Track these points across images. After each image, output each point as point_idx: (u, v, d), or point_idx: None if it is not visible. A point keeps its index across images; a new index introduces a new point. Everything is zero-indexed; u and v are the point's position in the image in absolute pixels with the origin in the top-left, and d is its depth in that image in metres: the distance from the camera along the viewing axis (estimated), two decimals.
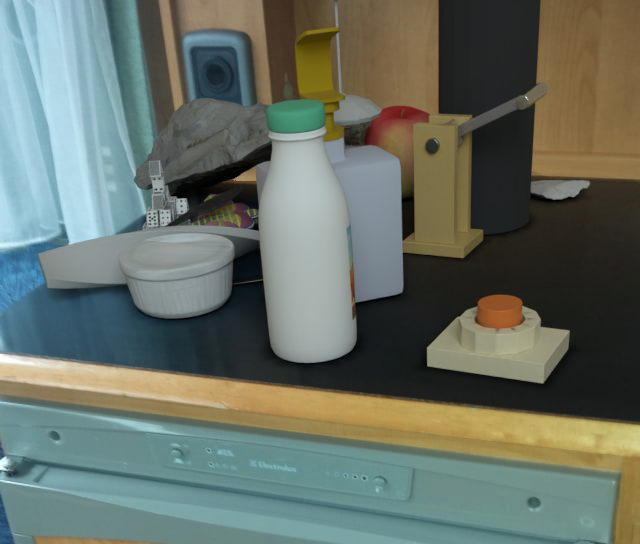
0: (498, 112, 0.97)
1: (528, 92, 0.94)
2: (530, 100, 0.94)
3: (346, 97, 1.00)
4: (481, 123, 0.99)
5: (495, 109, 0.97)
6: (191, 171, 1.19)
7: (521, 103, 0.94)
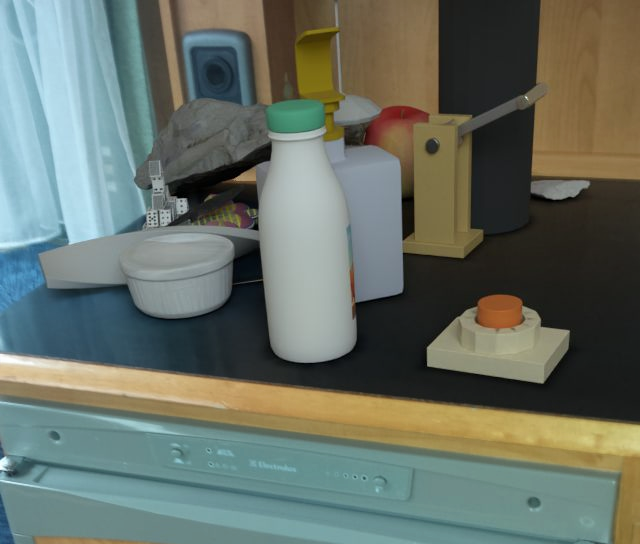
0: (498, 112, 0.97)
1: (528, 92, 0.94)
2: (530, 100, 0.94)
3: (346, 97, 1.00)
4: (481, 123, 0.99)
5: (495, 109, 0.97)
6: (191, 171, 1.19)
7: (521, 103, 0.94)
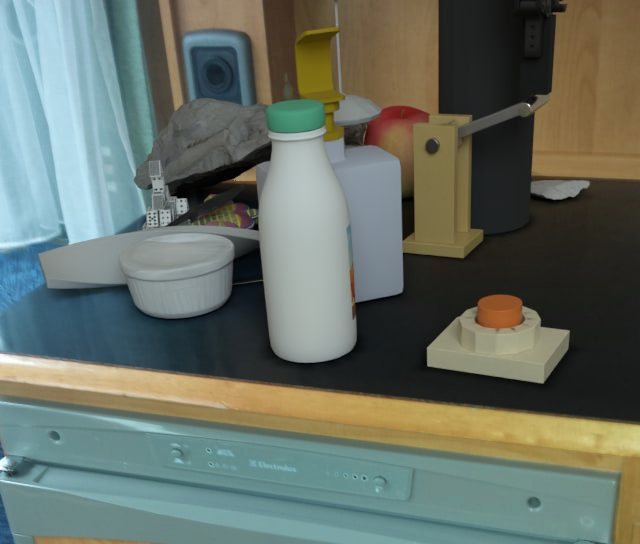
0: (500, 117, 0.98)
1: (531, 100, 0.94)
2: (533, 108, 0.94)
3: (346, 97, 1.00)
4: (482, 126, 0.99)
5: (497, 113, 0.98)
6: (191, 171, 1.19)
7: (523, 110, 0.94)
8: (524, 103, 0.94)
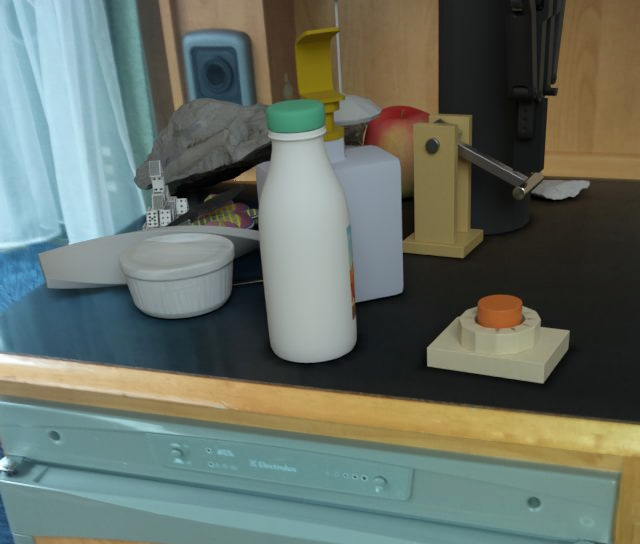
0: (497, 170, 1.01)
1: (529, 187, 0.99)
2: None
3: (346, 97, 1.00)
4: (479, 163, 1.01)
5: (497, 166, 1.00)
6: (191, 171, 1.19)
7: (518, 193, 0.98)
8: (522, 189, 0.98)
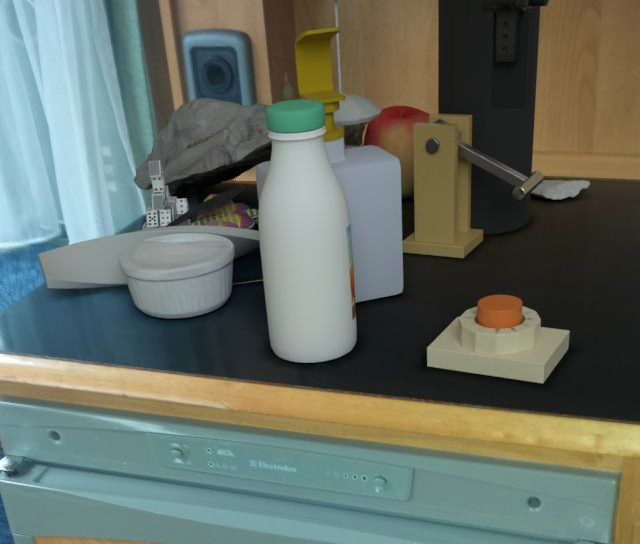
0: (497, 170, 1.01)
1: (528, 187, 0.99)
2: None
3: (346, 97, 1.00)
4: (479, 163, 1.01)
5: (497, 166, 1.00)
6: (191, 171, 1.19)
7: (518, 194, 0.98)
8: (522, 189, 0.98)
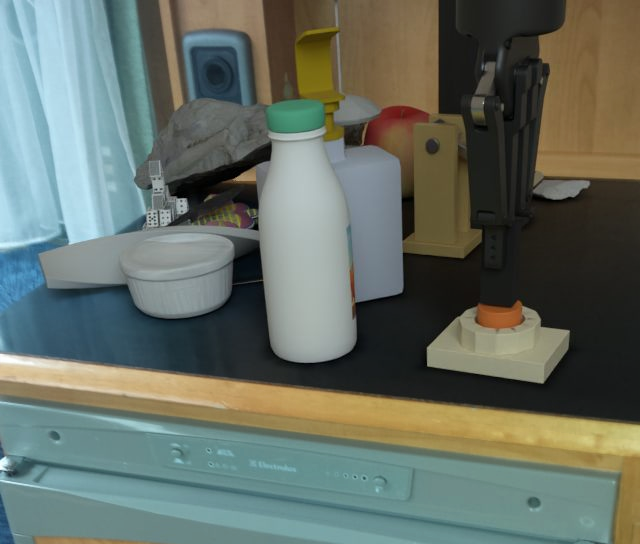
0: None
1: None
2: None
3: (346, 97, 1.00)
4: None
5: None
6: (191, 171, 1.19)
7: None
8: None
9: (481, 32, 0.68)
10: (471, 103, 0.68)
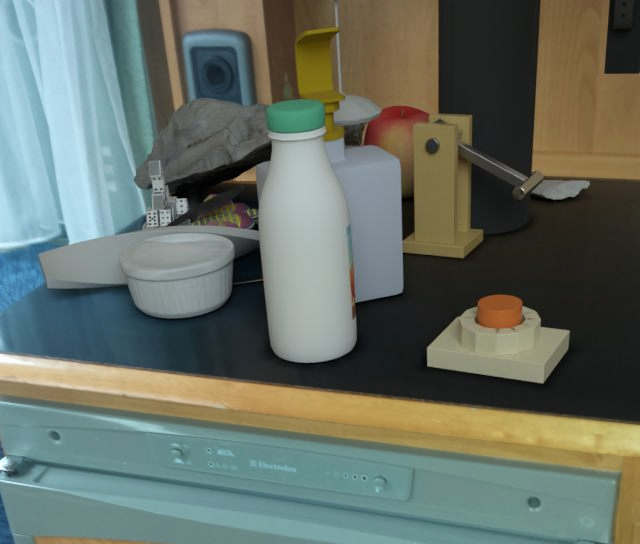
0: (497, 170, 1.01)
1: (528, 187, 0.99)
2: None
3: (346, 97, 1.00)
4: (479, 163, 1.01)
5: (497, 166, 1.00)
6: (191, 171, 1.19)
7: (518, 194, 0.98)
8: (522, 189, 0.98)
9: None
10: None
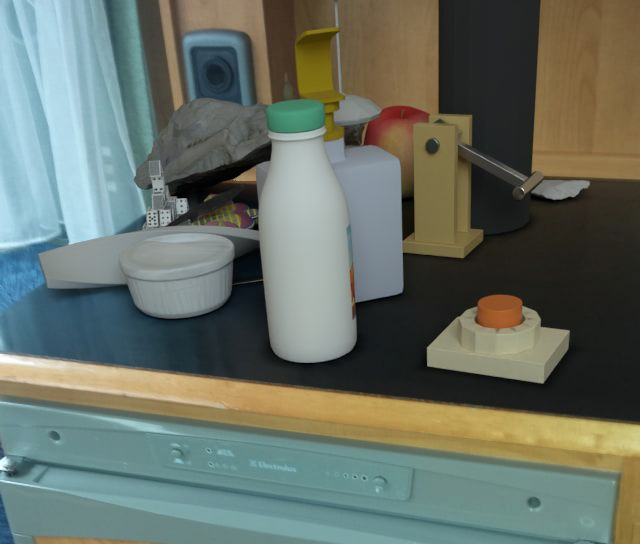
0: (497, 170, 1.01)
1: (528, 187, 0.99)
2: None
3: (346, 97, 1.00)
4: (479, 163, 1.01)
5: (497, 166, 1.00)
6: (191, 171, 1.19)
7: (518, 194, 0.98)
8: (522, 189, 0.98)
9: None
10: None
